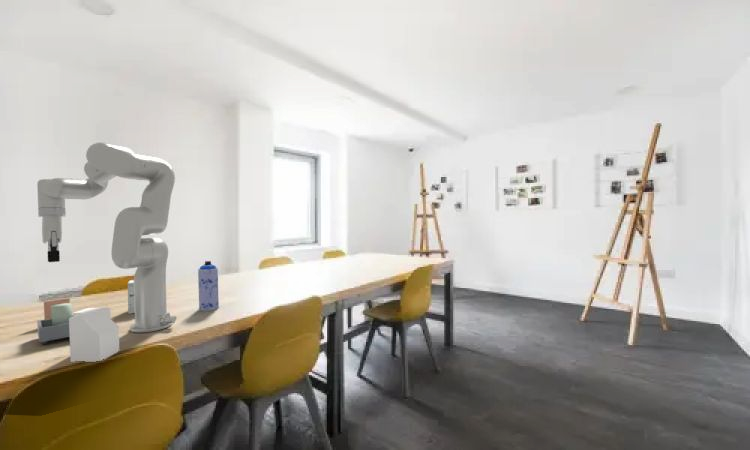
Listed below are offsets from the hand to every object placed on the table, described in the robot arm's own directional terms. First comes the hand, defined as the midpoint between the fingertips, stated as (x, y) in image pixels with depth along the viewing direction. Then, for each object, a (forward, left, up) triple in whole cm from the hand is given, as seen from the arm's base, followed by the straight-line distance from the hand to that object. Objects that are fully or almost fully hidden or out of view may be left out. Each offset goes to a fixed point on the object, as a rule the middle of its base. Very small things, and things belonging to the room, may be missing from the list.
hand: (53, 261), depth 133 cm
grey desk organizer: (-14, +12, -22) cm, 29 cm away
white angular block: (-42, +29, -23) cm, 56 cm away
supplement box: (-22, -15, -23) cm, 35 cm away
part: (-20, +17, -20) cm, 33 cm away
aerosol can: (-49, -20, -23) cm, 57 cm away
